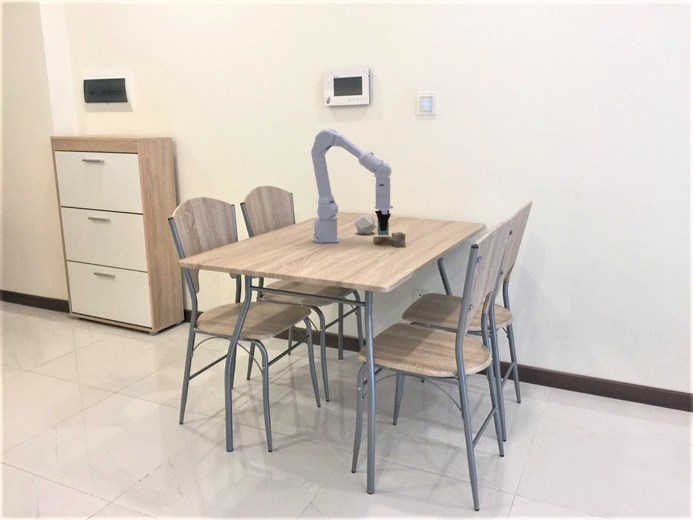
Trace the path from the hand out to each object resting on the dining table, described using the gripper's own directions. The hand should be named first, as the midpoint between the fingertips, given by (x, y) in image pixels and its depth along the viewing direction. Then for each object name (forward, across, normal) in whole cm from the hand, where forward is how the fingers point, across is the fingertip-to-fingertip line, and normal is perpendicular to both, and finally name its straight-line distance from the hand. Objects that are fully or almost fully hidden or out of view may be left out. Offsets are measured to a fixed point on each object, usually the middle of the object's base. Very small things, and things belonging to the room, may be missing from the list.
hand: (382, 229), depth 230 cm
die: (+6, +20, +6) cm, 21 cm away
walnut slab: (+6, 0, 0) cm, 6 cm away
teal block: (+2, 0, 0) cm, 2 cm away
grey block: (+6, -6, -6) cm, 10 cm away
